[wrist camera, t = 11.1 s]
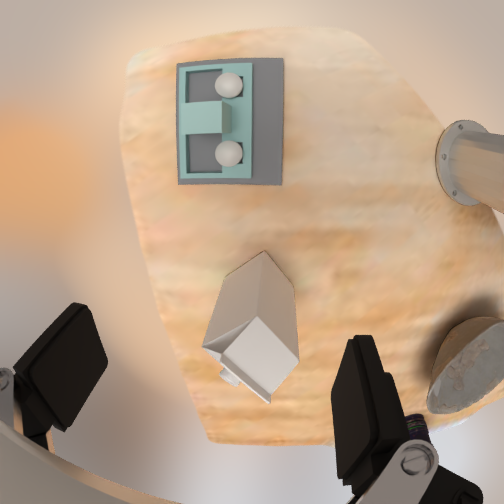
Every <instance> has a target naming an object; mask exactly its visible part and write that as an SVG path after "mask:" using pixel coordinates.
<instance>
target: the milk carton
mask: <svg viewBox="0 0 504 504" xmlns="http://www.w3.org/2000/svg"><path fill="white" fill-rule="evenodd" d="M202 347H203V348H204V349H205V350H206V351H207V352H208V353H209V354H210V355H211V356H212V357H213V358H214V359H215V360H217V361H218V362H219V363H220V364H221V365H222V366H223V367H224V368H223V370H222V371H221V372H220V373H219V375H220V376H221V377H222V378H223V379H224V380H225V381H227V382H228V383H229V384H231V385H233V386H235V387H237V386H238V385H239V383H240V382H242V383H243V384H245V385H246V386H247V387H248V388H249V389H251V390H252V391H253V392H254V393H255V394H257V395H258V396H259V397H260V398H262V399H263V400H264V401H265V402H267V403H268V404H270V403H271V395H272V393H273V392H274V391H275V390H276V389H277V388H278V387H279V385H280V384H281V383H282V382H283V381H284V379H285V378H286V377H287V376H288V375H289V373H290V372H291V371H292V370H293V369H294V367H295V366H296V365H297V364H298V362H299V349H298V334H297V321H296V308H295V295H294V287H293V285H292V284H291V283H290V281H289V280H288V279H287V278H286V276H285V275H284V274H283V273H282V271H281V270H280V269H279V268H278V266H277V265H276V264H275V263H274V261H273V260H272V259H271V258H270V256H269V255H268V254H267V253H266V252H265V251H263V252H262V253H260V254H259V255H257V256H256V257H254V258H253V259H251V260H250V261H248V262H247V263H245V264H244V265H242V266H241V267H239V268H238V269H236V270H235V271H233V272H232V273H230V274H229V275H228V276H226V277H225V279H224V281H223V284H222V287H221V290H220V293H219V296H218V299H217V302H216V305H215V308H214V311H213V314H212V317H211V320H210V323H209V326H208V329H207V332H206V335H205V338H204V341H203V344H202Z"/></svg>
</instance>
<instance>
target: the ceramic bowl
mask: <svg viewBox="0 0 504 504" xmlns="http://www.w3.org/2000/svg"><path fill="white" fill-rule="evenodd" d="M503 379H504V320H501V319H498V318H494V317H489V316H485V317H475V318H471V319H468V320H466V321H464V322H463V323H461V324H459V325H457V326H455V327H454V328H452V329H451V330H450V331H449V333H448V335H447V336H446V338H445V339H444V341H443V343H442V345H441V347H440V349H439V352H438V355H437V358H436V360H435V363H434V365H433V368H432V375H431V383H430V387H429V391H428V396H427V407H428V410H429V411H430V413H433V414H450V413H454V412H458V411H460V410H462V409H464V408H467V407H469V406H471V405H472V404H473V403H476V402H477V401H479V400H480V399H481V398H483V397H484V395H485V394H488V393H489V392H490V391H492V390H493V389H494V388H495V387H496V386H497V385H498V384H499V383H500V382H501V381H502V380H503Z"/></svg>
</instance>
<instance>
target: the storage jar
mask: <svg viewBox="0 0 504 504" xmlns="http://www.w3.org/2000/svg"><path fill="white" fill-rule="evenodd" d="M405 419H406V423H407V427H408V430H409V434H410V438H411V440H423V441H426V442H428V443H430V444H431V441H430V438H429V435H428V433H429V432H428V429H427V424H426V423H425V420H424V417H423V415H422V414H412V415H408V416H406V417H405ZM431 445H432V446H433V444H431ZM433 447H434V446H433Z"/></svg>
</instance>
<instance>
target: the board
mask: <svg viewBox="0 0 504 504" xmlns="http://www.w3.org/2000/svg"><path fill="white" fill-rule="evenodd" d="M229 63H252V64H253V130H252V178H184V179H181V178H180V151H179V68H182V67H190V66H200V65H212V64H229ZM224 97H225V98H233V97H243V78H240V77H239V76H238V75H236V74H234V73H229V72H228V73H224V74H222V71H213V72H200V73H190V74H189V103H192V102H206V101H222V98H224ZM176 138H177V168H178V185H182V184H254V185H281V183H282V144H283V58H235V59H217V60H205V61H195V62H186V63H178V64H177V73H176ZM189 161H190V172H222V165H223V166H225V167H232V166H234V165H236V164H237V163H243V142H235V141H231V140H229V141H224V142H222V133H207V134H189Z"/></svg>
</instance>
